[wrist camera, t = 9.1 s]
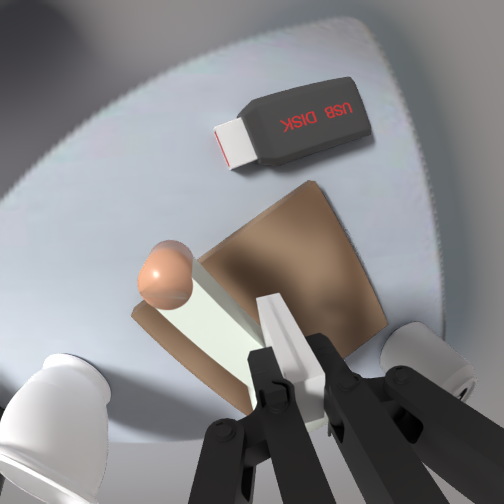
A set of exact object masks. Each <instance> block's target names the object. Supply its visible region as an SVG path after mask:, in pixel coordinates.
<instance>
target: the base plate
mask: <svg viewBox="0 0 504 504" xmlns="http://www.w3.org/2000/svg"><path fill="white" fill-rule="evenodd" d="M197 261H198V262H199V263H200V264H201V265H202V266H203V267H204V268H205V269H206V270H207V272H208V273H209V274H210V275H211V276H212V277H213V278H214V279H215V280H216V281H217V282H218V283H219V284H220V285H221V286H222V287H223V288H224V290H225V291H226V292H227V293H228V294H229V295H230V296H231V297H232V298H233V299H234V300H235V301H236V302H237V303H238V304H239V305H240V306H241V307H242V308H243V309H244V310H245V311H246V312H247V313H248V314H249V315H250V316H251V317H252V318H253V319H254V320H255V321H256V322H257V323H258V324H259V325H260V326H261V323H260V317H259V312H258V306H257V301H256V298H258V297H263V296H267V295H272V294H276V293H280V295H281V297H282V298H283V300H284V302H285V304H286V306H287V307H288V309H289V311H290V313H291V314H292V316H293V318H294V320H295V321H296V323H297V325H298V327H299V329H300V330H301V332H302V334H303V336H304V337H305V336H309V335H313V334H316V333H322V334H323V335H325V336H327V337H328V338H329V339H330V341H331V342H332V344H333V346H334V347H335V348H336V350H337V351H338V353H339V354H340V355H341V357H342V358H343V359H344V358H345V357H347V356H348V355H349V354H351V353H352V352H353V351H355V350H356V349H358V348H359V347H360V346H361V345H363V344H364V343H365V342H367V341H368V340H369V339H371V338H372V337H373V336H374V335H376V334H377V333H378V332H379V331H381V330H382V329H383V328H384V327H386V326H387V325H388V323H387V320H386V318H385V316H384V314H383V311H382V309H381V307H380V304H379V302H378V300H377V298H376V296H375V293H374V291H373V289H372V287H371V285H370V283H369V281H368V278H367V276H366V274H365V272H364V270H363V268H362V266H361V264H360V262H359V260H358V258H357V256H356V254H355V252H354V250H353V248H352V246H351V244H350V242H349V240H348V239H347V237H346V235H345V233H344V231H343V229H342V227H341V225H340V224H339V222H338V220H337V218H336V216H335V214H334V213H333V211H332V209H331V207H330V206H329V204H328V202H327V200H326V199H325V197H324V195H323V193H322V192H321V190H320V188H319V187H318V185H317V183H316V182H315V181H310V180H308V181H307V182H305V183H304V184H302V185H301V186H299V187H298V188H296V189H295V190H294V191H292V192H291V193H289V194H288V195H286V196H285V197H284V198H282V199H281V200H279V201H278V202H276V203H275V204H274V205H272V206H271V207H269V208H268V209H266V210H265V211H264V212H262V213H261V214H259V215H258V216H257V217H255V218H254V219H252V220H251V221H250V222H248V223H247V224H245V225H244V226H243V227H241V228H240V229H239V230H237V231H236V232H234V233H233V234H232V235H230V236H229V237H227V238H226V239H225V240H223V241H222V242H221V243H219V244H218V245H217V246H215V247H214V248H212V249H211V250H210V251H208V252H207V253H206V254H204V255H203V256H202V257H200V258H199V259H198V260H197ZM131 317H132V318H133V319H134V320H135V321H136V322H137V323H138V324H139V325H140V326H141V327H142V328H143V329H144V330H145V331H146V332H147V333H148V334H149V335H150V336H151V337H152V338H153V339H154V340H155V341H157V342H158V343H159V344H160V345H161V346H162V347H163V348H164V349H165V350H166V351H167V352H168V353H169V354H171V355H172V356H173V357H174V358H175V359H176V360H177V361H178V362H180V363H181V364H182V365H183V366H184V367H185V368H186V369H188V370H189V371H190V372H191V373H192V374H193V375H195V376H196V377H197V378H198V379H199V380H201V381H202V382H203V383H204V384H206V385H207V386H208V387H209V388H211V389H212V390H213V391H214V392H216V393H217V394H218V395H219V396H221V397H222V398H223V399H225V400H226V401H227V402H229V403H230V404H231V405H233V406H234V407H235V408H237V409H238V410H239V411H241V412H242V413H244V414H245V415H246V416H248V415H249V414H251V413H252V412H253V407H252V403H251V399H250V395H249V391H248V387H247V385H246V384H244V383H243V382H242V381H240V380H239V379H238V378H237V377H235V376H234V375H233V374H231V373H230V372H229V371H227V370H226V369H225V368H224V367H222V366H221V365H220V364H219V363H217V362H216V361H215V360H214V359H213V358H211V357H210V356H209V355H208V354H206V353H205V352H204V351H203V350H202V349H200V348H199V347H198V346H197V345H196V344H195V343H193V342H192V341H191V340H190V339H189V338H188V337H187V336H185V335H184V334H183V333H182V332H181V331H180V330H179V329H177V328H176V327H175V326H174V325H173V324H172V323H171V322H170V321H169V320H168V319H166V318H165V317H164V316H163V315H162V314H161V313H160V312H159V311H158V310H157V309H156V308H155V307H153V306H151V305H149V304H148V303H147V302H146V301H145V300H143V301H142V302H141V303H139V304H138V305H137V306H135V307H134V309H133V312H132V314H131Z"/></svg>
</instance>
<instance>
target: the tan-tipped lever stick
mask: <svg viewBox="0 0 504 504" xmlns="http://www.w3.org/2000/svg"><path fill="white" fill-rule="evenodd" d="M138 289H139V292H140V294H141V296H142V297H143V299H144V300H145V301H146V302H147V303H148V304H149V305H151V306H153V307H155V308H156V309H157V310H158V311H159V312H160V313H161V314H162V315H163V316H164V317H165V318H166V319H168V320H169V321H170V322H171V323H172V324H173V325H174V326H175V327H176V328H177V329H179V330H180V331H181V332H182V333H183V334H184V335H185V336H187V337H188V338H189V339H190V340H191V341H192V342H193V343H195V344H196V345H197V346H198V347H199V348H200V349H202V350H203V351H204V352H205V353H206V354H208V355H209V356H210V357H211V358H213V359H214V360H215V361H216V362H217V363H219V364H220V365H221V366H222V367H224V368H225V369H226V370H227V371H229V372H230V373H231V374H233V375H234V376H235V377H237V378H238V379H239V380H240V381H242V382H243V383H244V384H246V385H247V387H248V391H249V395H250V399H251V403H252V407H253V411H254V409H255V407H256V404H257V400H256V396H255V390H254V386H253V382H252V377H251V373H250V369H249V365H248V361H247V358H248V355H249V353H250V351H252V350H257V349H261V348H265V347H266V345H265V342H264V339H263V334H262V328H261V326H260V325H259V324H258V323H257V322H256V321H255V320H254V319H253V318H252V317H251V316H250V315H249V314H248V313H247V312H246V311H245V310H244V309H243V308H242V307H241V306H240V305H239V304H238V303H237V302H236V301H235V300H234V299H233V298H232V297H231V296H230V295H229V294H228V293H227V292H226V291H225V290H224V288H223V287H222V286H221V285H220V284H219V283H218V282H217V281H216V280H215V279H214V278H213V277H212V276H211V275H210V274H209V273H208V272H207V270H206V269H205V268H204V267H203V266H202V265H201V264H200V263H199V262H198V261H197V260H196V259H195V257H194V256H193V255H192V253H191V251H190V250H189V248H188V247H187V246H186V245H184V244H183V243H181V242H178V241H174V240H166V241H163V242H160V243H158V244H157V245H156V246H155V247H154V248H153V249H152V250H151V252H150V254H149V256H148V258H147V260H146V262H145V263H144V265H143V267H142V269H141V271H140V273H139V276H138ZM327 423H328V417H327V415H326V412H325V414H324V418H321V419H318V420H315V421H312V422H309V423H305V426H306V429H307V431H308V433H309V432H312V431H314V430H316V429H318V428H320V427H322V426H324V425H325V424H327Z"/></svg>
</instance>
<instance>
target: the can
mask: <svg viewBox="0 0 504 504" xmlns="http://www.w3.org/2000/svg"><path fill="white" fill-rule="evenodd" d="M399 365H404V366H408V367H411V368H413V369H414V370H416V371H417V372H419V373H420V374H422V375H423V376H425V377H426V378H428V379H429V380H431V381H432V382H434V383H435V384H437V385H438V386H440V387H441V388H443V389H444V390H446V391H447V392H449V393H450V394H452V395H453V396H455V397H456V398H458V399H459V400H461V401H462V402H464V403H466V402H467V401H468V399H469V398H470V397H471V395H472V394H473V392H474V390H475V388H476V386H477V382H478V380H477V378H476V377H474V369H473V366H472V365H471V364H470V363H469V362H468V361H467V360H466V359H464V358H463V357H462V356H461V355H460V354H459V353H457V352H456V351H455V350H454V349H453V348H452V347H450V346H449V345H448V344H447V343H446V342H445V341H443V340H442V339H441V338H440V337H439V336H437V335H436V334H435V333H434V332H433V331H431V330H430V329H429V328H428V327H427V326H425V325H424V324H423V323H420V322H411V323H409V324H406V325H404V326H402V327H400V328H398V329H397V330H396V331H394V332H393V333H392V335H391V336H390V337H389V338H388V339H387V341H386V342H385V344H384V347H383V349H382V353H381V356H380V366H381V368H382V370H383V371H384V372H385V373H386V372H387V371H388V370H389V369H390V368H392V367H394V366H399Z"/></svg>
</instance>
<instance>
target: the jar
mask: <svg viewBox="0 0 504 504" xmlns="http://www.w3.org/2000/svg"><path fill="white" fill-rule="evenodd" d="M110 398H111V391H110V387H109V385H108V383H107V381H106V380H105V378H104V377H103V376H102V375H101V373H100V372H99V371H97V370H96V369H95V368H94V367H93V366H91V365H90V364H89V363H87V362H85V361H84V360H82V359H80V358H77V357H75V356H72V355H69V354H62V353H59V354H53V355H51V356H49V357H48V358H47V359H46V360H45V362H44V365H43V369H42V370H40V371H38V372H37V373H35V374H34V375H33V376H32V377H31V378H30V379H29V380H28V381H27V382H26V383H25V385H24V386H23V387H22V388H21V389H20V390H19V391H18V392H17V393H16V394H15V395H14V396H13V398H12V399H11V401H10V402H9V404H8V405H7V407H6V409H5V411H4V413H3V416H2V418H1V421H0V473H1V474H2V475H3V476H4V477H6V478H7V479H8V480H9V481H11V482H12V483H13V484H15V485H16V486H18V487H19V488H20V489H22V490H24V491H25V492H27V493H28V494H30V495H32V496H34V497H36V498H38V499H39V500H41V501H43V502H46V503H48V504H99V502H98V501H97V500H96V498H95V495H96V493H97V491H98V490H99V488H100V485H101V483H102V480H103V476H104V473H105V469H106V464H107V456H108V413H107V408H106V405H107V404H108V403H109V401H110Z"/></svg>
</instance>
